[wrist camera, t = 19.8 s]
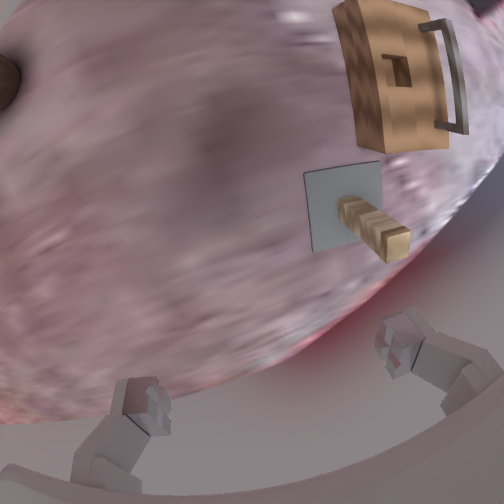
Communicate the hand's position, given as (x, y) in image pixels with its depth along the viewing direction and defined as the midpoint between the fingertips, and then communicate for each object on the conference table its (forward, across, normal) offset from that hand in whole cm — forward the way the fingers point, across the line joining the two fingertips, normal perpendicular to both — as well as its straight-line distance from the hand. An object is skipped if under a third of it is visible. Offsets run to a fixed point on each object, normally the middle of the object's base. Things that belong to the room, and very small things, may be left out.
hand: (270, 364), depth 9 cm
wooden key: (+34, +19, -10) cm, 40 cm away
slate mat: (+34, +19, -10) cm, 40 cm away
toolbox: (+34, +29, +12) cm, 46 cm away
